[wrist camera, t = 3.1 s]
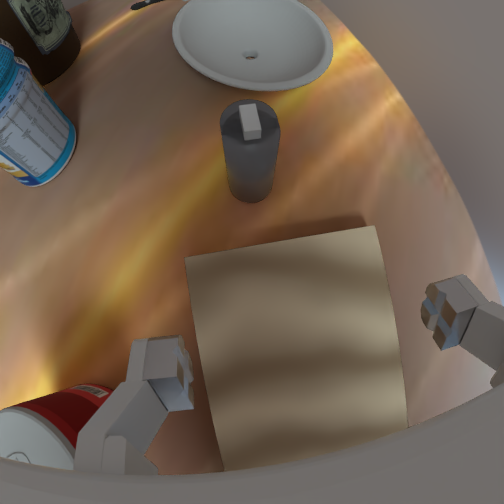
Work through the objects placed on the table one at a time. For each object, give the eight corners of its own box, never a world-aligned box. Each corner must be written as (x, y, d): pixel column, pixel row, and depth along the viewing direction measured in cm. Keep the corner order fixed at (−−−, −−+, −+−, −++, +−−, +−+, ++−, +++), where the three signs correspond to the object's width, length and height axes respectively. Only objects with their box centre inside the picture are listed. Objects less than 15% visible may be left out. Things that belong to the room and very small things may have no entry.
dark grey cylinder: (265, 152, 27) (272, 86, 19) (276, 199, 27) (287, 143, 18) (224, 159, 27) (215, 94, 18) (232, 206, 26) (224, 152, 18)
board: (402, 451, 22) (409, 456, 21) (233, 491, 22) (232, 500, 20) (368, 230, 26) (374, 225, 25) (187, 261, 25) (184, 257, 24)
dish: (159, 41, 31) (150, 11, 26) (267, 6, 32) (269, -24, 27) (225, 148, 28) (220, 116, 23) (354, 96, 29) (368, 64, 24)
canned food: (49, 404, 23) (-30, 430, 12) (107, 365, 24) (28, 386, 13) (97, 473, 22) (36, 528, 11) (161, 441, 22) (111, 504, 12)
